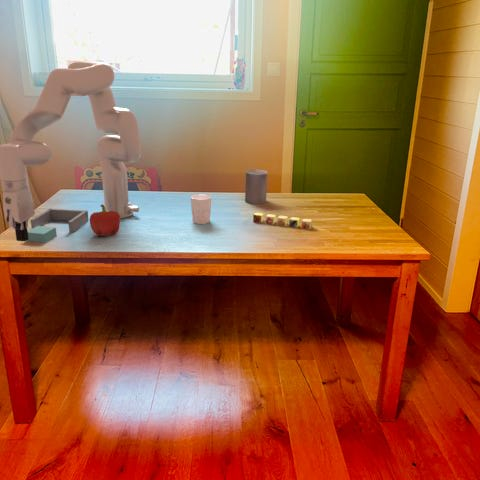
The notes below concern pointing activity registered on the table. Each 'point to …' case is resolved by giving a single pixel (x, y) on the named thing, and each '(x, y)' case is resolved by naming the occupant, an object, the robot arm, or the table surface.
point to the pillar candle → (256, 186)
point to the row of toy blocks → (282, 220)
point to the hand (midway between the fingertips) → (22, 240)
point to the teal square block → (41, 234)
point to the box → (62, 218)
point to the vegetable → (105, 222)
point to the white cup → (201, 208)
